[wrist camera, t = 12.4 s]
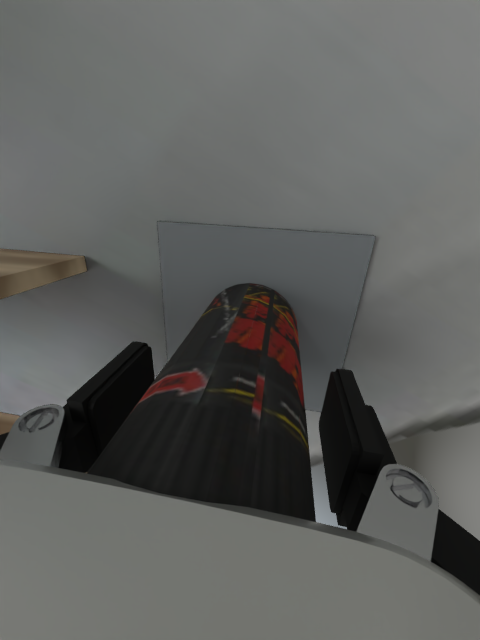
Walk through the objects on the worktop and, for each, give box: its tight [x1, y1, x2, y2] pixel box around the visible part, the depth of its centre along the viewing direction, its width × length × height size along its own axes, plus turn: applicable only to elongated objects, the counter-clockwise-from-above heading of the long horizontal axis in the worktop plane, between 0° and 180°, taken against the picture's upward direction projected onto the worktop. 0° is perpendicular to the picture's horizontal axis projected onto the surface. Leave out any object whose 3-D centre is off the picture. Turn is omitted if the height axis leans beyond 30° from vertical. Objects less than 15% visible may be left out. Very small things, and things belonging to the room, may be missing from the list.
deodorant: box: [86, 283, 316, 522], centre depth 10 cm, size 6×6×15 cm
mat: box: [157, 221, 376, 412], centre depth 17 cm, size 12×12×1 cm
